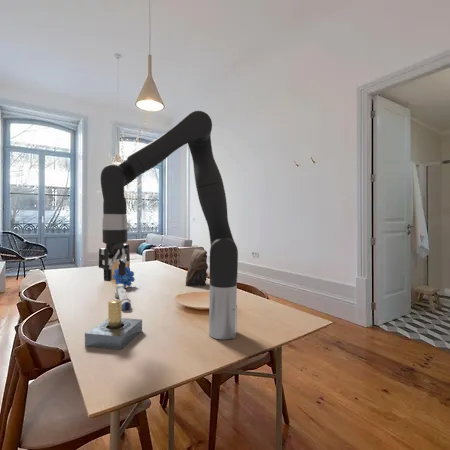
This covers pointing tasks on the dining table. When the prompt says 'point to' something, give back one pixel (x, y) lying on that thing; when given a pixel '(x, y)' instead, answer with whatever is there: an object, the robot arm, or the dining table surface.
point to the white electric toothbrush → (122, 297)
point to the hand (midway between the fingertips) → (115, 277)
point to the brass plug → (114, 314)
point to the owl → (197, 269)
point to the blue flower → (124, 277)
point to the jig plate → (113, 334)
